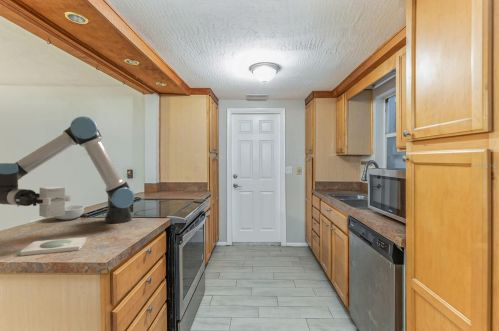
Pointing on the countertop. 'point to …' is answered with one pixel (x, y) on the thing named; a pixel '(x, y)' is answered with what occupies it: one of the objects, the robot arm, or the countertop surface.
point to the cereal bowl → (71, 212)
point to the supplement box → (52, 202)
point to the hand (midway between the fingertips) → (60, 200)
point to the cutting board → (53, 246)
